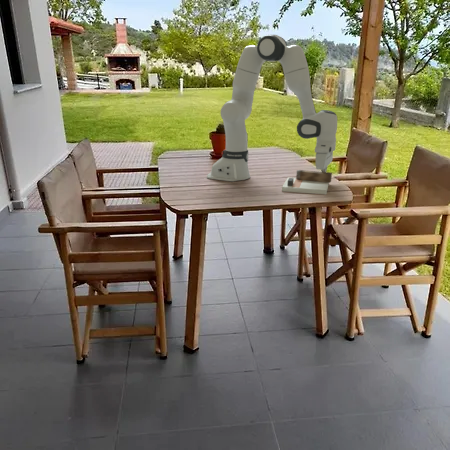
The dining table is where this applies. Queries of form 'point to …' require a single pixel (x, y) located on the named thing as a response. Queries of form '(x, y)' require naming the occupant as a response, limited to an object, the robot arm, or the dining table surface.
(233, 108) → the robot arm
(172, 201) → the dining table surface
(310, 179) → the stool leg
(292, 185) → the board
